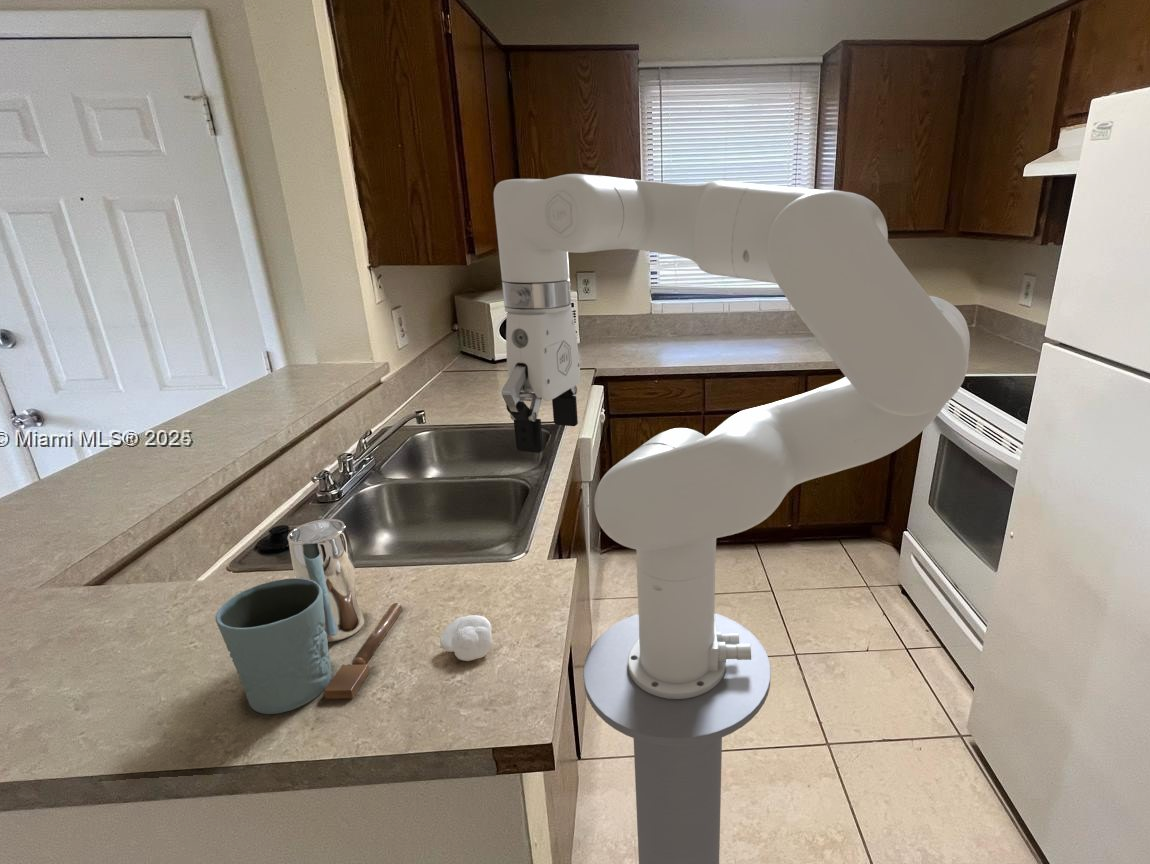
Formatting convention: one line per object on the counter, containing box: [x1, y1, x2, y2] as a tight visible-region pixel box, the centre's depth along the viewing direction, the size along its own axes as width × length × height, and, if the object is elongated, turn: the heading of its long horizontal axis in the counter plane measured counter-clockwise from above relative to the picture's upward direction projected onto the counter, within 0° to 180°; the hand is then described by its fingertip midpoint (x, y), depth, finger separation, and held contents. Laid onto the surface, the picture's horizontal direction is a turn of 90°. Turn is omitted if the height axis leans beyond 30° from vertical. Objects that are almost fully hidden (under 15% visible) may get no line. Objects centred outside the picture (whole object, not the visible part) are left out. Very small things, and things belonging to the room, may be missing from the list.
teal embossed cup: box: [215, 577, 332, 715], centre depth 71 cm, size 10×10×12 cm
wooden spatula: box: [323, 602, 403, 700], centre depth 79 cm, size 17×3×2 cm, turn 1°
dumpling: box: [439, 614, 493, 662], centre depth 78 cm, size 7×5×4 cm
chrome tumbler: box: [287, 518, 365, 643], centre depth 81 cm, size 7×7×15 cm
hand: (549, 437), depth 75 cm, fingers open, 9 cm apart
